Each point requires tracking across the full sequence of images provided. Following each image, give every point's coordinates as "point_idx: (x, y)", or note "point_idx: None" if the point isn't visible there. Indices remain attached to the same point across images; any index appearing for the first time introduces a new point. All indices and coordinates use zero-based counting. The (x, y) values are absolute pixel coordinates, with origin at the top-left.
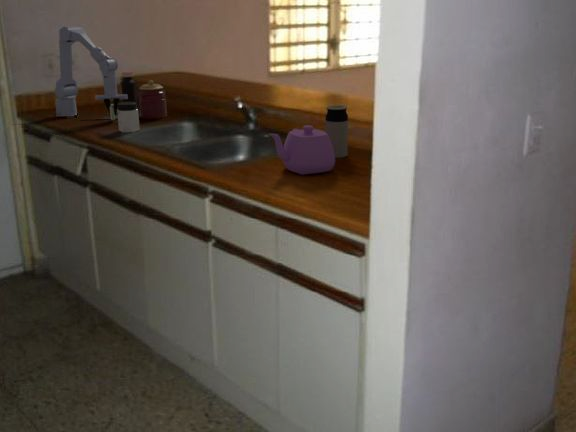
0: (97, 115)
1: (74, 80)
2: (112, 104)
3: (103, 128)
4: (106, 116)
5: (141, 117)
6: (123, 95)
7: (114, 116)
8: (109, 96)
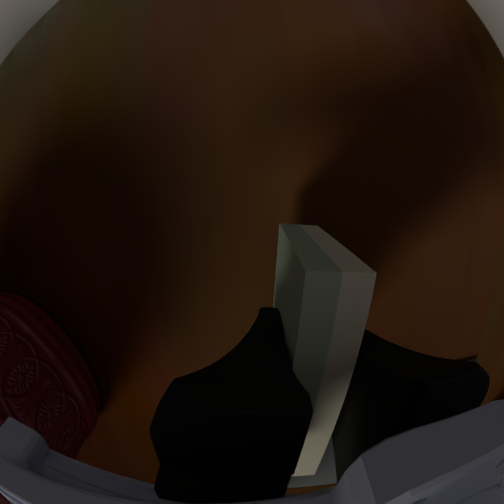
0: None
1: None
2: (303, 462)
3: (353, 10)
4: (330, 443)
5: (76, 352)
6: (16, 491)
7: (278, 274)
8: (498, 461)
